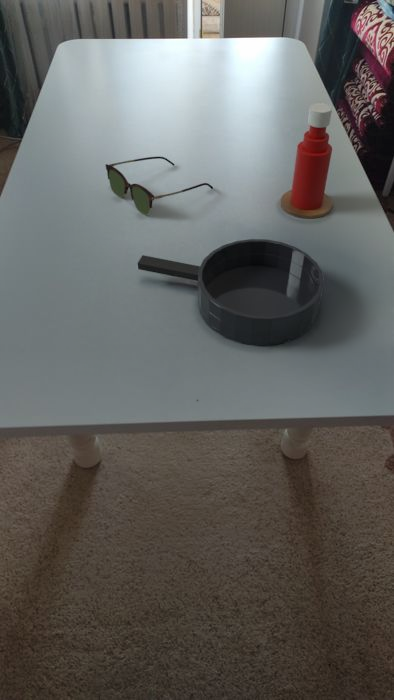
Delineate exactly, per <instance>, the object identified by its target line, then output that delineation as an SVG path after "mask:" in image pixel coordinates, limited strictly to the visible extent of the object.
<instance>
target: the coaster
mask: <svg viewBox="0 0 394 700" xmlns="http://www.w3.org/2000/svg"><path fill="white" fill-rule="evenodd" d="M291 192H292V189H290V190H288V191H286V192H284V194H282V195H281V197H280V202H279V203H280V207H281V208H282V210H283V211H284V212H286V213H287V214H289V215H291V216H293V217H296V218H300V219H318V218H322V217H325V216H327V215H328V214H329V213H330V212H331V210H332V208H333V201H332V198H331V197H330V196H329V195H328V194H326V193H325V192H324V198H323V203H322V205H321V207H319V208H317V209H314V210H302V209H299V208H296V207H295V206H293V205H292V204H291V201H290V199H291Z"/></svg>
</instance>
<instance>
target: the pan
mask: <svg viewBox="0 0 394 700" xmlns="http://www.w3.org/2000/svg"><path fill="white" fill-rule="evenodd" d="M199 266H200V268H199V271H198V281H197V304H198V311H199V313H200V315H201V317H202V320H204V323H206V324H207V325H208V327H210V329H212V330H213V331H214V332H216V333H217V334H219V335H220V336H222V337H224V338H226V339H228V340H231V341H233V342H235V343H239V344H244V345H250V346H274V345H275V346H276V345H281V344H285V343H288V342H290V341H293V340H295V339H297V338H300V336H302V335H304V334H305V333H306V332H307V331H308V330H310V329H311V327H312V326H313V325H314V323H315V322H316V320H317V318H318V314H319V309H320V305H321V301H322V295H323V291H324V286H325V278H324V274H323V271H322V269H321V267H320V266H319V264H318V262H317V261H316V260H315V259H314V258H312V256H311V255H309V254H308V253H307V252H305V251H303V250H302V249H300V248H298V247H296V246H294V245H292V244H288V243H285V242H283V241H278V240H273V239H266V238H248V239H242V240H235V241H232V242H228V243H226V244H223V245H221V246H219V247H217V248H216V249H214V250H211V252H209V254H208V255H206V257H204V258H203V260H202V262H201V264H200V265H199Z"/></svg>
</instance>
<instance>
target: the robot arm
mask: <svg viewBox="0 0 394 700" xmlns="http://www.w3.org/2000/svg"><path fill="white" fill-rule="evenodd" d="M343 3H345V4H355V5H356V4H358V3H359V0H343Z"/></svg>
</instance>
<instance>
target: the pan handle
mask: <svg viewBox="0 0 394 700" xmlns="http://www.w3.org/2000/svg"><path fill="white" fill-rule="evenodd" d="M200 266H201V265H195V264H190V263H186V262H180V261H175V260H170V259H164V258H159V257H155V256H150V255H149V256H148V255H143V254H142V255H141V257H140V258H139V260H138V261H137V269H138V270H140V271H145V272H150V273H155V274H159V275H165V276H171V277H175V278H180V279H185V280H191V281H195V282H198V271H199V268H200Z"/></svg>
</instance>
